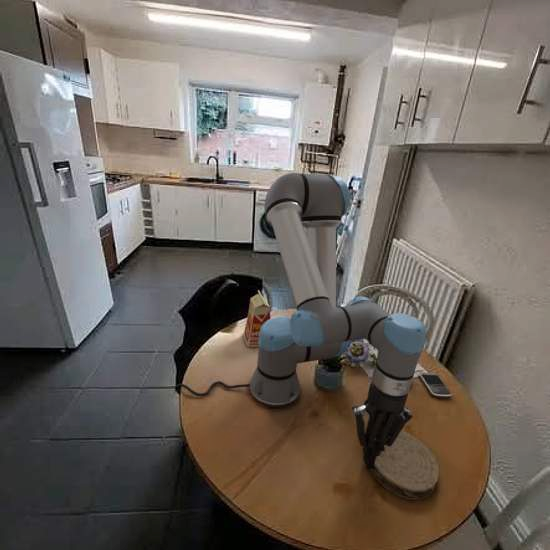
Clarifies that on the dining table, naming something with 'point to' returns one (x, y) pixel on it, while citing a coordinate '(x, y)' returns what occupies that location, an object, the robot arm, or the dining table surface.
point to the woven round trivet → (407, 467)
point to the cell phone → (434, 385)
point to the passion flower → (359, 353)
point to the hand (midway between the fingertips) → (367, 463)
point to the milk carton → (256, 319)
